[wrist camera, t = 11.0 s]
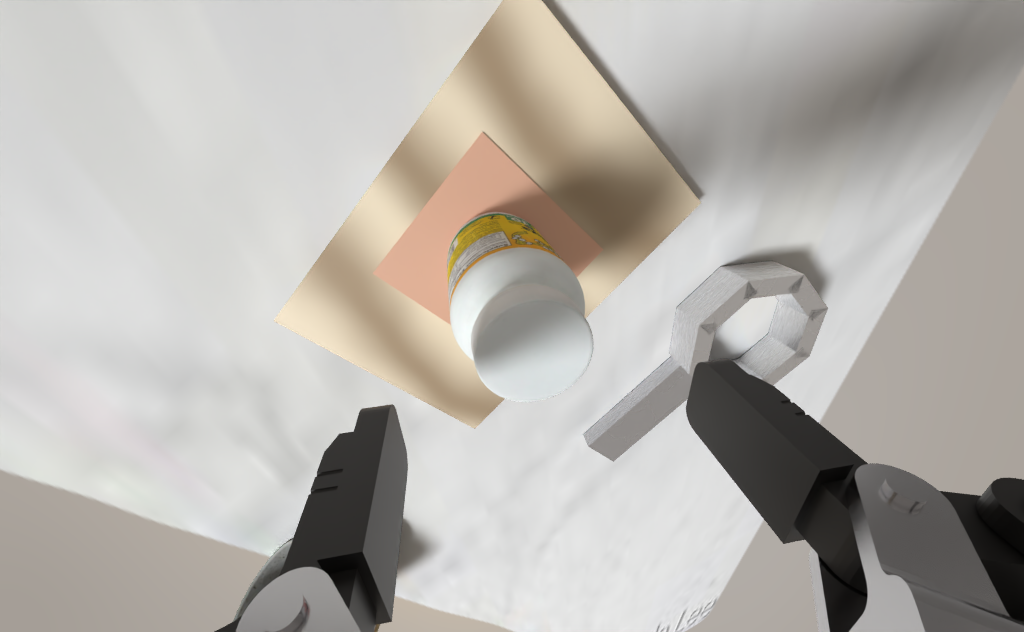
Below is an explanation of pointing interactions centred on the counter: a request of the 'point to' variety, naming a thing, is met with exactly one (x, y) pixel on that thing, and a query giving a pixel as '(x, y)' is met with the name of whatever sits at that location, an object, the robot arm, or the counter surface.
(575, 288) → the supplement bottle
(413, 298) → the birch board
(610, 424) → the ring
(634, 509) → the counter surface
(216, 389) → the counter surface
